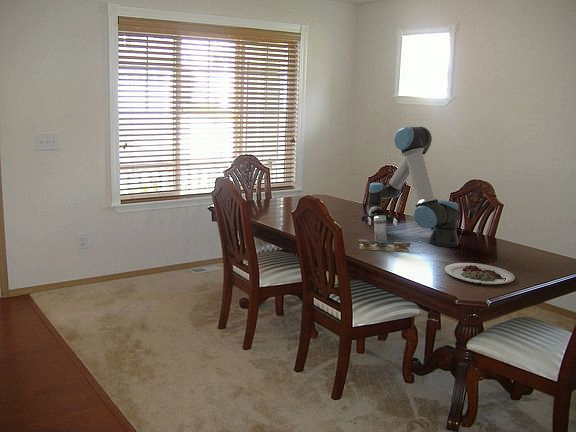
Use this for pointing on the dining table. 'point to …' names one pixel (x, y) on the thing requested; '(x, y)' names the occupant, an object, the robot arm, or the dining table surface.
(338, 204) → the dining table surface
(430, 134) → the robot arm
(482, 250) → the dining table surface
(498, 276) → the plated food
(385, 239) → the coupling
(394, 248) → the shaft bench
